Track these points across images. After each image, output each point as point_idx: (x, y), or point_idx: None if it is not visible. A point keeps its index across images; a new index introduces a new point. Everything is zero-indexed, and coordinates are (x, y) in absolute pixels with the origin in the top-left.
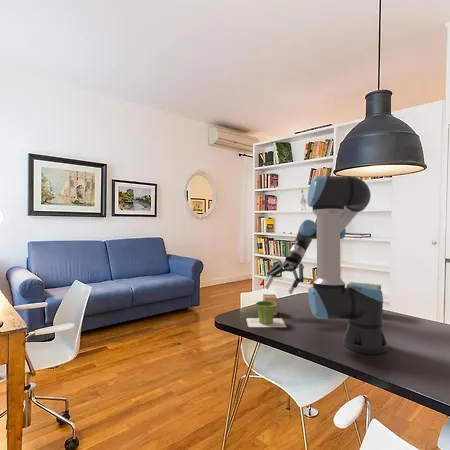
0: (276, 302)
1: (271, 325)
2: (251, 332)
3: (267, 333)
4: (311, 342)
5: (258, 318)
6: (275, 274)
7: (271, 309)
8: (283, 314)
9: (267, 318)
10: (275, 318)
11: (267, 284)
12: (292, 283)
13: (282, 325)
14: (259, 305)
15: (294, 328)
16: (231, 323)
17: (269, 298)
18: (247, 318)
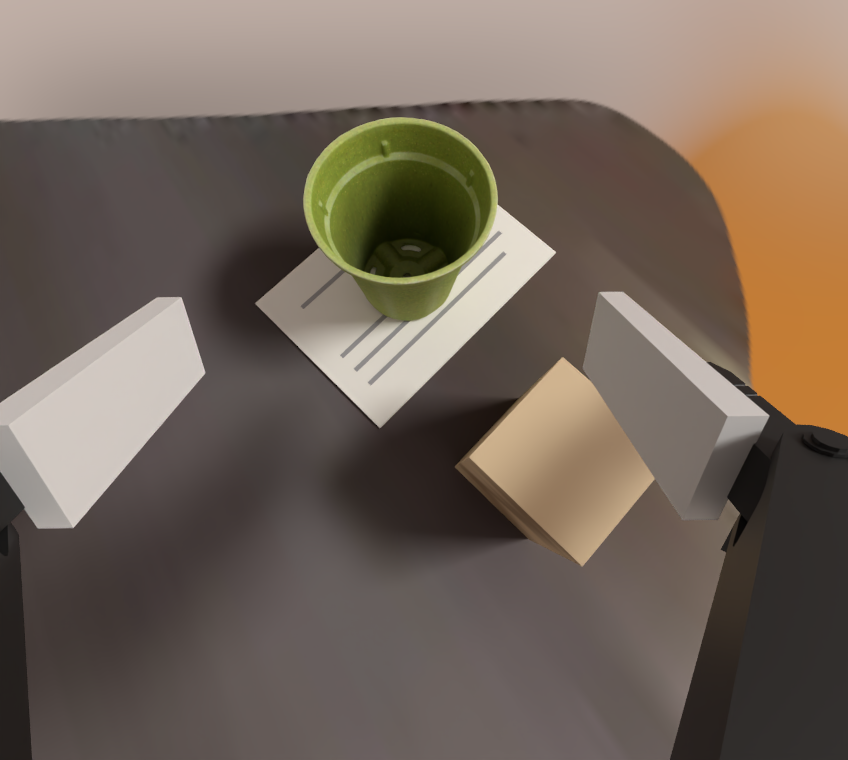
0: (466, 457)
1: None
2: (365, 112)
3: (291, 156)
4: (39, 214)
5: (495, 306)
6: (729, 580)
7: (326, 194)
8: (433, 533)
9: (364, 225)
10: (410, 391)
11: (611, 332)
12: (70, 361)
13: (292, 309)
14: (480, 222)
15: (209, 326)
16: (544, 133)
17: (524, 397)
18: (544, 254)
